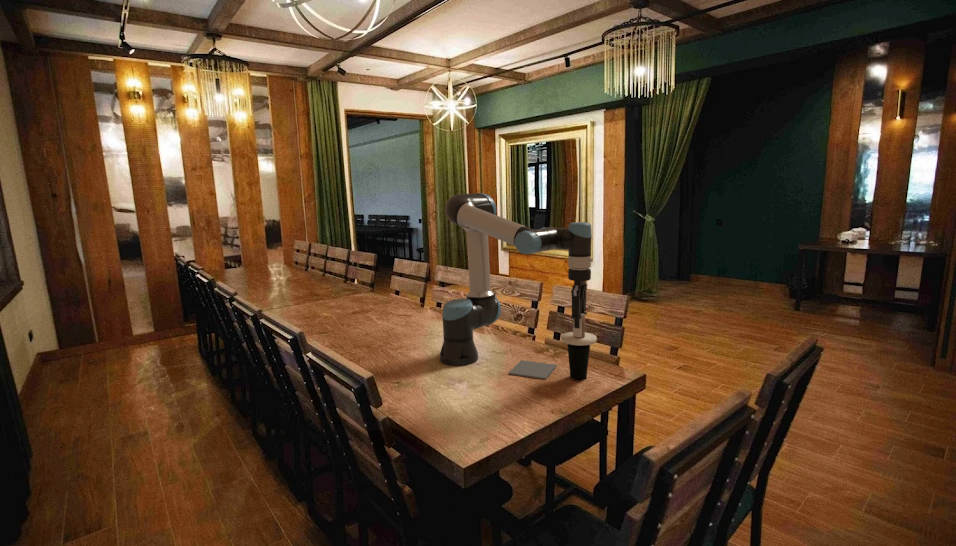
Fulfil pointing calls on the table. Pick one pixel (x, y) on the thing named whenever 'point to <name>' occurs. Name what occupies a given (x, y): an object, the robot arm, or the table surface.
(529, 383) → the table surface
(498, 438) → the table surface
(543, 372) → the mat
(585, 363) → the cup
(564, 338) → the lid
